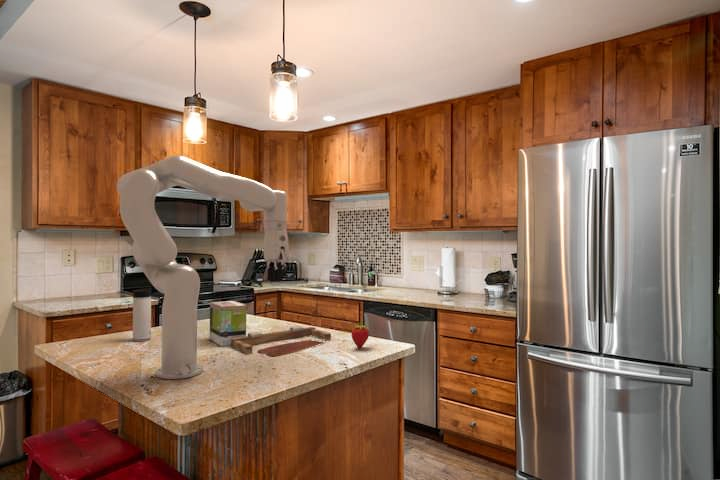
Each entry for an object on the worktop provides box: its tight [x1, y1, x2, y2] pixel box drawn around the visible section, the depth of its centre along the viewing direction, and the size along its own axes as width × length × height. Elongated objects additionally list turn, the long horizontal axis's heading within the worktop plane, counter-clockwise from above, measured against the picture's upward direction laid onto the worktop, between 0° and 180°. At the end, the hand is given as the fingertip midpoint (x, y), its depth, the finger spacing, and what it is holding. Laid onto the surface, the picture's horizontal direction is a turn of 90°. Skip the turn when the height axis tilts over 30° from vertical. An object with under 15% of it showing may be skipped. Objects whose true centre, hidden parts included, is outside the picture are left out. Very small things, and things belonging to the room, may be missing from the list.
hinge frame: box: [230, 325, 332, 355], centre depth 166 cm, size 14×35×4 cm, turn 129°
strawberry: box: [350, 324, 370, 349], centre depth 158 cm, size 6×8×10 cm
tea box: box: [209, 300, 248, 347], centre depth 168 cm, size 15×10×15 cm, turn 34°
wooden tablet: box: [257, 339, 324, 358], centre depth 159 cm, size 27×10×2 cm, turn 141°
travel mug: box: [132, 286, 153, 343], centre depth 170 cm, size 6×7×20 cm
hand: (275, 280), depth 150 cm, fingers open, 3 cm apart
